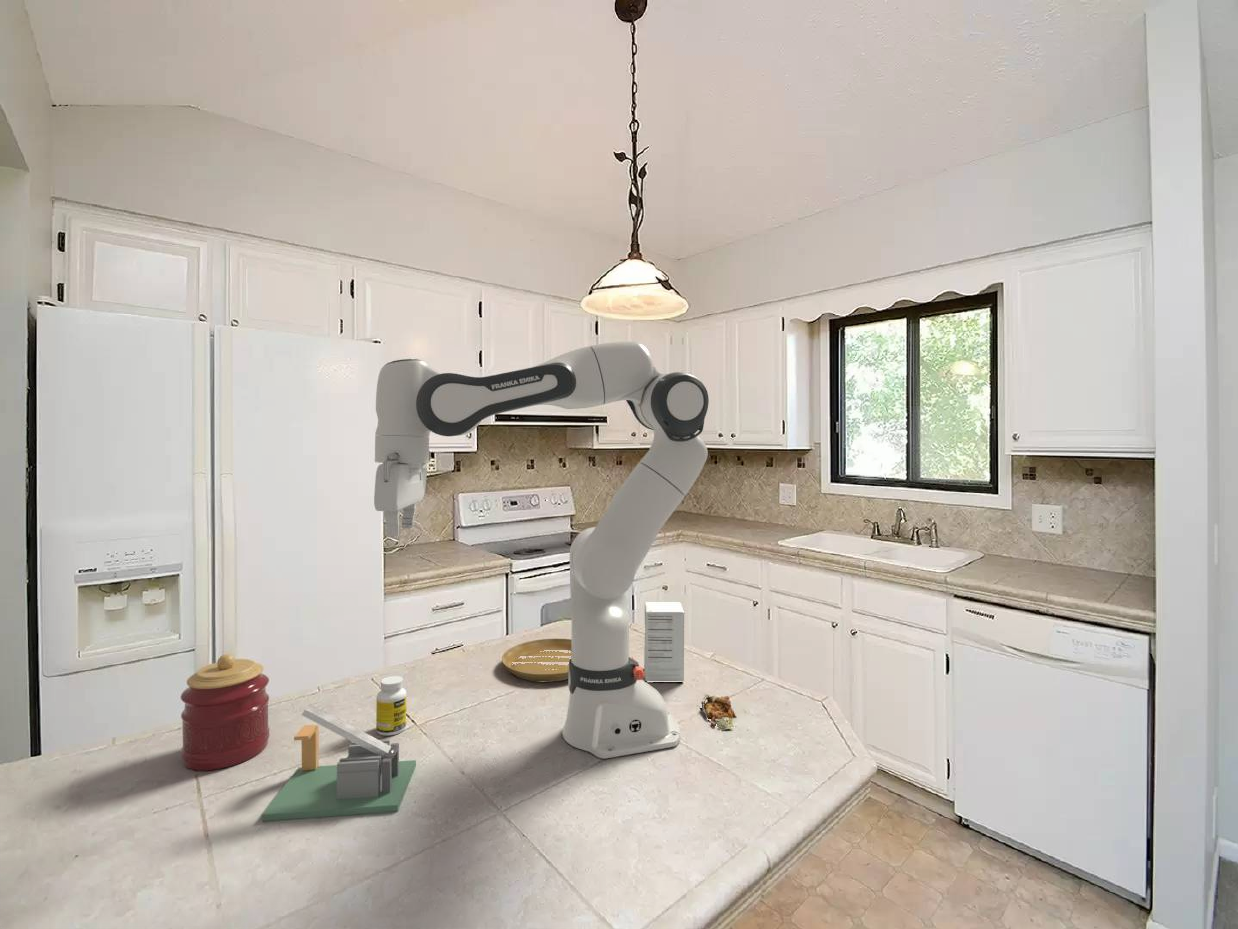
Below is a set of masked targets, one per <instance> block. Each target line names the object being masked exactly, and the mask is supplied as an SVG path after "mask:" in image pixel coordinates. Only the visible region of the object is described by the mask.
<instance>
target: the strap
mask: <svg viewBox="0 0 1238 929" xmlns="http://www.w3.org/2000/svg"><path fill="white" fill-rule="evenodd" d="M301 716H303V717H305V718H306V719H309V720H310V721H312V722H314V723H316V724H317V725H320V726H321V727H324V728H325V729H327V730H329V731H331V732H333V733H335V734H337V735H338V736H341V737H342V738H345V739H346V740H348V741H350V742H354V743H356V744H358V745H359V746H361V747H363V748H365V749H367V750H369V751H371V752H373V753H375V754H377V755H378V756H381V757H382V758H384V759H386V758H391V762H392V760H393V758H394V756H395V754H396V752H397V750H398V748H397V746H396V745H391V744H390V745H391V746H389V745H387V744H385V743H384V742H382V741H380V740H381V739H377V738H375V737H374V736H372V735H371V734H369V733H366V732H365V731H364V730H363V731H362V730H361V729H359V728H357V727H355V726H354V725H352V724H350V723H348V722H345V721H344V720H342V719H341V718H338V717H336V716H335V715H333V714H331V713H328V712H327V711H325V710H323V709H321V708H320V707H317V706H316V705H314V704H312V703H310V704H308V705H307V707H306V708H305V709H304V710H303V711H302V714H301Z"/></svg>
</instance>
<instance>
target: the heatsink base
mask: <svg viewBox="0 0 1238 929" xmlns="http://www.w3.org/2000/svg"><path fill="white" fill-rule="evenodd" d="M379 740H380V741H382V742H384V743H385V744H387V745H389V746H391V745H396V746H397V748H398V750H397V752H396V754H395V756H394V758H393V760H392V762H391V758H386V759H384V758H382V757H381V756H378V755H377V754H375V753H373V752H371V751H369V750H367V749H365V748H363V747H361V746H359V745H358V744H356V743H354V742H352V741H350V744H349V746H348V747H347V748H348V755H347V757H345V758H344V757H342V758H339V761H338V762H337V763H336V764H333V765H332V764H331V765H319V766H318V767H317V769H316V770H302V766H301V767H297V769H296V770H295V771H294V772H293V774H292V775H291V777H290V778H289V779H288V781H287V782H286V783H285V784H284V785H283V787H282V788H281V789H280V791H279V792H278V793H277V795H276V796H274V798H273V800H272V801H271V802H270V803H269V805H268V806H267V808H266V809H265V810H264V811H263V813H262V814H261V817H262V818H261V821H262V822H271V821H285V820H299V819H311V818H315V819H316V818H325V817H327V818H328V817H339V816H341V817H342V816H355V815H366V814H367V815H368V814H381V813H393V812H394V813H395V812H398V811H399V809H400V806H401V803H402V801H403V798H404V796H405V794H406V791H407V788H408V787H409V783H410V782H411V779H412V777H413V774H414V772H415V769H416V766H417V760H416V759H415V760H400V743H399V742H395V743H391V739H390V738H389V739H379Z"/></svg>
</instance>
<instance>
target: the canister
mask: <svg viewBox="0 0 1238 929" xmlns="http://www.w3.org/2000/svg"><path fill="white" fill-rule="evenodd" d="M263 671H264V666H263V665H262V664H260V663H258V662H254V661H253V660H252V659H245V658H244V659H243V658H235V657H234V655H232V654H230V653H226V654H222V655H221V656H220V657H219V658H218V659H217V661H216V662H214V663H210V664H208V665H205V666H203V667H201V668H200V669H198V670H197V671H196V672H195V673H193V674H192V675H191V676H189V677H188V678H187V680H186V685H187V686H188V687H186V689H184V690H183V691H182V693H181V695H180V701H182V702H183V703H184V709H183V711H182V712H181V715H180V719H181V721H182V722H181V724H182V727H181V728H182V748H181V758H182V761H183V765H184V766H185V768H188V769H190V770H194V771H213V770H214V771H215V770H220V769H224V768H229V767H232V766H235V765H238V764H241V763H243V762H246V761H248V760H250V759H252V758H254V757H255V756H258V754H260V753H261V752H262V751H264V749H265V748H266V747H267V746H268V743H269V737H270V727H269V700H270V697H269V694H268V693H267V689H266V687H267V686H268V684H269V682H270V679H269V676H267V675H265V674H263Z"/></svg>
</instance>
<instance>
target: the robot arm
mask: <svg viewBox="0 0 1238 929" xmlns="http://www.w3.org/2000/svg"><path fill="white" fill-rule="evenodd" d="M652 357H653V356H652V355H651V354H650V352H649V350H648V349H647V347H646V346H645V345H643V344H642V343H640V342H637V341H615V342H607V343H599V344H594V345H590V346H584V347H581V348H576V349H574V350H570V351H568V352H564V353H562V354H559V355H557V356H555V357H553V358H552V359H549V360H547V361H544V362H543V363H540V364H537V365H535V366H532V367H527V368H522V369H518V370H512V371H508V372H503V373H497V374H493V375H488V376H478V377H477V376H468V375H464V374H459V373H453V372H452V373H451V372H445V373H441V372H440V371H439V370H436V369H435V368H433V367H431V366H430V364H427V362H426V361H424V360H421V359H417V358H416V359H415V358H414V359H411V358H407V359H406V358H404V359H397V360H396V359H395V360H393V361H390V362H387V363H385V364H384V365H383V366H382V367H381V368H380V371H379V374H378V378H377V384H376V391H375V392H376V394H375V412H376V413H375V414H376V416H377V427H376V428H375V434H374V437H375V438H374V462H375V463H379V465H377V468H376V473H375V482H374V496H373V505H374V509H375V510H376V511H377V512H383V514H384V520H385V524H386V535H387V536H388V537H395V538H396V537H397V536H400V535H401V528H402V529H405V530H406V529H407V530H408V529H411V528H413V527H414V522H415V521H414V518H415V513H416V511H417V503H419V502H421V501H423V500H424V497H425V494H426V486H427V474H428V473H427V472H428V463H429V464H430V462H431V459H432V458H431V454H432V453H431V451H430V433H431V432H432V433H434V434H436V435H439V436H442V437H456V436H457V437H458V436H464V435H465V436H466V435H467V434H470V433H471V432H473V431H474V430H475V429H476V428H477V427H479V425H480V424H481V422H482V421H483V420H485V419H487V418H488V417H491V416H494V415H499V414H502V413H508V412H511V411H516V410H519V409H525V408H529V407H533V406H542V405H543V406H553V407H558V408H562V409H565V410H579V409H587V408H593V407H598V406H602V405H603V406H604V405H607V404H611V403H614V402H620V401H626V403H627V405H628V406H629V408H630V409H631V412H632V414H633V416H634V417H635V419H636V420H637V421H638V422H639V424H641V425H642V426H643V427H645V428H646V429H648V430H650V431H653V433H654V434H653V435H654V436H653V440H652V443H651V445H650V447H649V450H648V451H647V452H646V453H645V455H644V456H643V457H642V458H641V459H640V460H639V462H638V463H637V465H635V467H634V468H633V470H632V471H631V472H630V474H629V475H628V476H627V478H626V479H625V480H624V482H622V484H621V486H620V487H619V488H618V489H617V491H616V492H615V494H614V495H613V497H612V499H611V501H610V503H609V505H608V506H607V508H606V510H605V511H604V513H603V514H602V516H601V517H600V520H599V521H598V523H597V524H596V526H594V527H593V526H592V527H588V528H586V529H584V530H582V531H581V532H580V533H578V534H577V536H575V538H574V539H573V540H572V542H571V545H570V549H569V586H570V587H569V588H570V589H569V590H570V614H571V622H570V623H571V633H570V634H571V638H570V639H571V659H570V660H569V667H568V680H567V682H568V683H567V685H568V689H569V700H568V707H567V712H566V718H565V722H564V724H563V729H562V732H561V734H562V736H563V739H564V741H565V742H566V743H567V744H568V745H571V746H572V747H574V748H576V749H579V750H582V751H586V752H589V753H591V754H593V755H594V756H595V757H597V758H599V759H604V760H605V759H610V758H617V757H623V756H627V755H633V754H634V755H635V754H639V753H644V752H645V753H646V752H649V751H650V752H652V751H656V750H662V749H669V748H674V747H677V745H678V744H679V743H680V740H681V730H680V726H679V724H678V722H677V720H676V718H674V716H673V715H672V714H671V713H670V712H668V709H667V704H666V702H665V699H664V698H663V696H662V695H661V693H660V692H659V690H658V689H656V688H655V687H653V686H652V685H651V684H649V682H645V680H644V679H645V672H644V668H643V667H641V666H640V664H639V662H638V661H637V660H636V658H634V657H633V656H631V657H630V656H629V654H630V648H629V647H630V644H629V643H630V640H629V639H630V635H629V634H630V618H629V611H628V609H629V608H628V601H627V591H628V590H629V589H630V588H631V586H632V584H633V582H634V580H635V576H636V574H637V572H638V570H639V569H640V566H641V565H642V564H643V562H644V561H645V558H646V556H647V555H648V552H650V549H651V547H652V545H653V543H654V541H655V539H656V538H657V536H658V534H659V533H660V531H661V529H662V528H663V526H664V525H665V524H666V523H667V521H668V519H670V517H671V516H672V514H673V513H674V512H675V510H676V509H677V508H678V506H679V505H680V504H681V502H682V501H683V500H684V498H685V497H686V495H687V494H688V493H689V491H690V490H691V489H692V487H693V485H694V484H695V482H696V480H697V479H698V477H699V475H700V473H701V472H702V470H703V468H704V466H705V464H706V462H707V459H708V454H709V452H708V447H707V445H706V444H705V442H704V441H703V439H702V438H701V437H700V434H702V432H703V431H704V424H705V419H706V416H707V413H708V409H709V399H710V398H709V392H708V390H707V387H706V386H705V384H704V383H703V382H702V381H701V380H700V379H699V378H698V377H696V376H695V375H693V374H691V373H687V372H681V371H674V372H671V373H670V372H669V373H661V372H659V371H658V370H657V369H656V366H654V361H653V358H652ZM380 463H381V464H380ZM401 510H402V518H401V524H400V514H401Z"/></svg>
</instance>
